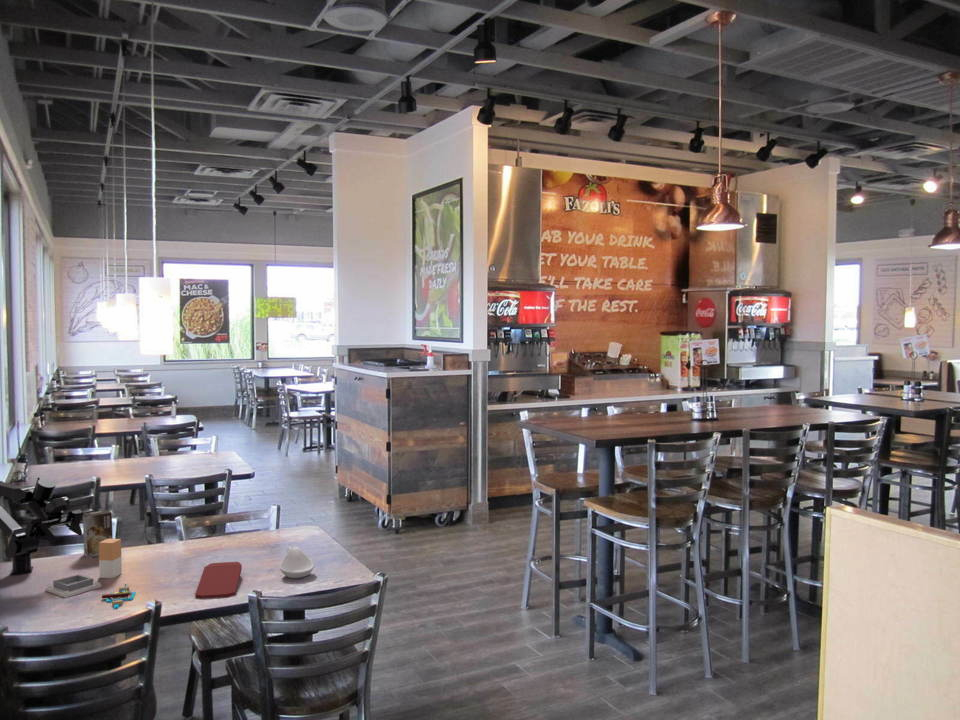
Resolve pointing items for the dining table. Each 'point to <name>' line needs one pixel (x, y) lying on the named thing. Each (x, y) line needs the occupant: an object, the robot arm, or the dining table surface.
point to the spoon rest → (296, 564)
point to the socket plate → (72, 585)
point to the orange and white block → (110, 558)
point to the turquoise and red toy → (122, 594)
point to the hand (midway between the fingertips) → (69, 537)
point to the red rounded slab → (219, 580)
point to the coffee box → (96, 531)
